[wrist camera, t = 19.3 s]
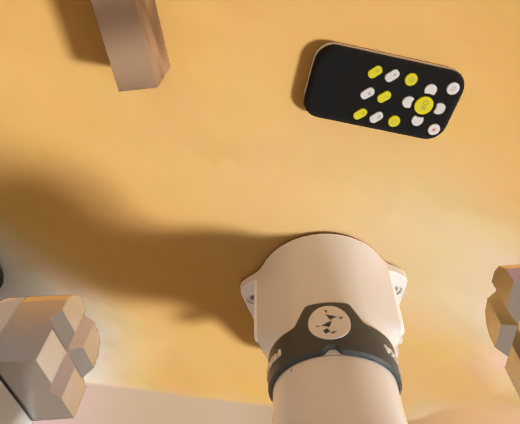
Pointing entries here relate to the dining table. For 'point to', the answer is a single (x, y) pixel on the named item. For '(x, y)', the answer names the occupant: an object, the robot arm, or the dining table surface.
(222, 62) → the dining table surface
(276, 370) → the robot arm
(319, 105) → the remote control
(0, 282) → the milk frother
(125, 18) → the blocks
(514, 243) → the dining table surface
